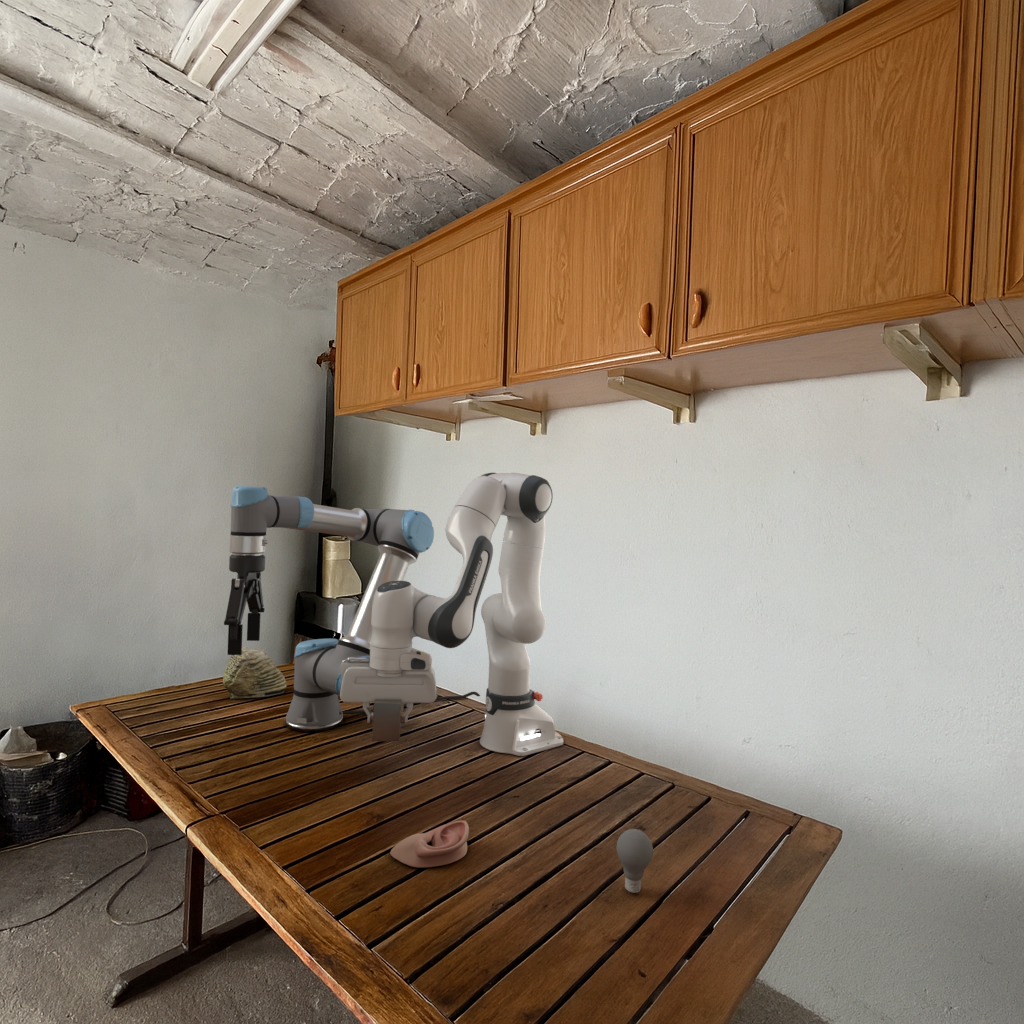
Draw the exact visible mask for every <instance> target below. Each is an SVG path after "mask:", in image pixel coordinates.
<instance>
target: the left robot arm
mask: <svg viewBox="0 0 1024 1024" xmlns="http://www.w3.org/2000/svg"><path fill="white" fill-rule="evenodd" d="M268 528H269V529H271V528H279V529H281V528H282V529H283V528H284V529H290V530H297V531H305V532H313V533H319V534H326V535H327V534H328V535H336V536H343V537H344V536H345V537H347V539H349V540H350V541H353V542H360V543H365V544H367V545H372V546H375V547H377V549H378V552H379V557H378V559H377V562H376V564H375V566H374V569H373V571H372V574H371V576H370V579H369V581H368V584H367V586H366V589H365V591H364V593H363V596H362V598H361V600H360V602H359V606H358V607H357V610H356V612H355V615H354V617H353V620H352V623H351V624H350V626H349V629H348V632H347V634H346V635H345V636H342V637H341V638H339V639H337V638H317V639H316V638H315V639H308V640H304V641H300V642H299V643H298V644H297V645H296V646H295V650H294V655H293V657H294V672H293V673H294V674H293V695H292V696H293V697H292V699H291V702H290V704H289V708H288V711H287V713H286V715H285V726H286V728H287V729H289V730H291V731H294V732H295V731H296V732H301V733H316V732H325V731H329V730H332V729H335V728H337V727H339V726H340V725H342V723H343V722H344V715H355V714H356V715H358V714H360V715H362V714H366V712H365V711H364V709H359V710H357V709H356V710H343V709H342V706H341V702H340V698H339V697H340V691H341V684H342V680H343V677H342V676H341V674H340V666H341V663H342V662H343V661H344V660H346V659H348V658H349V657H355V658H360V657H370V642H371V639H372V635H373V629H372V625H371V618H372V606H373V599H374V595H375V592H376V590H377V588H378V587H379V586H380V585H381V584H383V583H386V582H390V581H404V579H405V577H406V574H407V572H408V569H409V566H411V565H412V564H415V563H416V562H417V560H418V558H419V556H420V554H422V553H425V552H426V551H428V550H429V549H431V547H432V545H433V543H434V537H435V530H434V526H433V522H432V520H431V518H430V517H429V516H428V515H427V514H426V513H424V512H423V511H420V510H415V509H397V508H395V509H394V508H361V507H354V508H352V509H346V508H341V507H340V508H339V507H334V506H328V505H321V504H316V503H313V501H312V500H311V499H310V498H308V497H305V496H299V495H295V496H294V495H274V494H273V495H271V494H269V490H268V488H267V487H265V486H252V485H251V486H250V485H237V486H235V487H233V489H232V494H231V502H230V534H229V553H230V556H229V560H228V561H229V562H228V570H229V572H232V573H236V574H237V576H236V578H231V581H230V592H229V597H228V603H227V608H226V613H225V618H224V621H223V625H224V626H228V632H227V656H231V655H241V654H242V647H243V629H244V625H243V624H242V621H243V617H244V614H245V610H246V605H247V607H248V611H249V612H248V613H247V620H246V621H247V625H246V641H247V642H250V641H251V642H260V639H261V634H260V632H261V613H265V607H264V597H263V589H262V572H264V571H265V570H266V556H265V554H264V553H265V552H266V545H268V543H269V540H268V539H266V538H267V529H268ZM346 662H348V661H346ZM369 663H370V662H369ZM472 695H473V696H474V695H475V696H476V697H481V695H480V693H478V692H477V691H470V692H467V693H465V694H462V695H450V696H436V700H435V701H442V700H443V701H444V700H459V699H461V700H462V699H465V698H468V697H470V696H472ZM413 705H418V703H413ZM404 708H407V703H404ZM370 710H371V712H373V711H374V709H370Z"/></svg>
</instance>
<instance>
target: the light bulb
mask: <svg viewBox="0 0 1024 1024" xmlns="http://www.w3.org/2000/svg"><path fill="white" fill-rule="evenodd" d="M615 849H616V854H617V857H618V859H619V861H620V863H621V865H622V867H623V873H624V874H623V875H624V876H625V878H624V888H625V890H627V891H628V892H630V893H634V894H635V893H639V892H640V891H641V889H642V887H641V886H642V879H643V877H644V875H645V871H646V868H647V867H648V866H649V864H650V863H651V861H652V859H653V855H654V847H653V843H652V841H651V838H649V836H648V835H647V834H646V833H645V832H643V831H642V830H641V829H636V828H629V829H627V830H625V831H623V832H622V833H621V834H620V835H619V837H618V839H617V841H616V847H615Z"/></svg>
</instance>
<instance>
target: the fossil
mask: <svg viewBox="0 0 1024 1024" xmlns="http://www.w3.org/2000/svg"><path fill="white" fill-rule="evenodd" d="M222 676H223V677H222V685H223V687H224V688H225V690H226V691H228V693H229V698H230V699H250V698H264V697H271V696H275V695H281V694H284V693H285V691H286V689H287V687H288V686H287V680H286V678H285V676H284V674H283V673H282V672H281V669H279V668H278V667H277V665H276V663H275V662H274V660H273V659H272V658H271V657H270V656H269V655H268V654H267V653H266V652H265V650H264V649H263V648H260V647H258V648H251V647H247V646H246V647H245V646H242V654H241V655H230V657H229V659H228V660H227V663H226V666H225V668H224V671H223V675H222Z"/></svg>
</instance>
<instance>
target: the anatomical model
mask: <svg viewBox="0 0 1024 1024" xmlns="http://www.w3.org/2000/svg"><path fill="white" fill-rule="evenodd" d="M469 834H470V828H469V824H468V822H467V821H466V820H463V819H462V820H455V821H451V822H447V823H446V824H443V825H440V826H438V827H436V828H434V829H433V828H432V829H431V830H429V831H426V832H423V833H415V834H412V835H409V836H407V837H405V838H404V839H402V840H401V841H399V842H398V843H397V844H395V845H394V846H393V847H392V848H391V850H390V852H389V854H390V856H392V858H393V859H395V860H396V861H399V862H400V863H402V864H404V865H407V866H409V867H412V868H417V869H418V868H422V869H423V868H433V867H439V866H445V865H449V864H452V863H454V862H457V861H459V860H461V859H463V857H465V856H466V855H467V852H468V842H467V841H468V839H469V836H470V835H469Z"/></svg>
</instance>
